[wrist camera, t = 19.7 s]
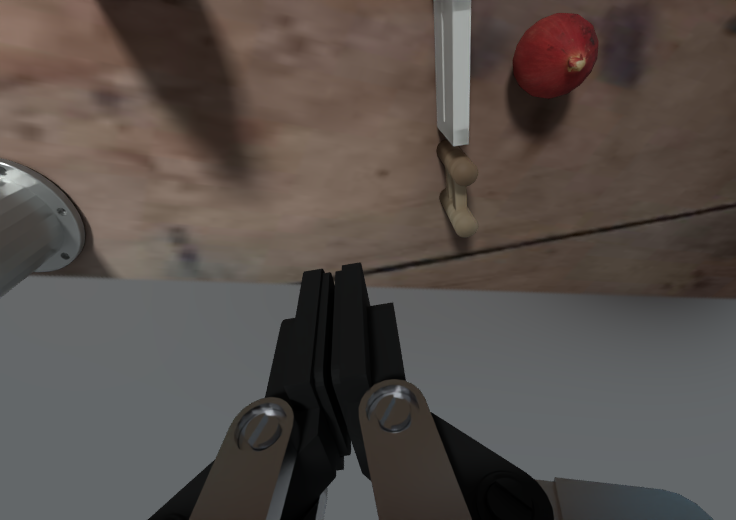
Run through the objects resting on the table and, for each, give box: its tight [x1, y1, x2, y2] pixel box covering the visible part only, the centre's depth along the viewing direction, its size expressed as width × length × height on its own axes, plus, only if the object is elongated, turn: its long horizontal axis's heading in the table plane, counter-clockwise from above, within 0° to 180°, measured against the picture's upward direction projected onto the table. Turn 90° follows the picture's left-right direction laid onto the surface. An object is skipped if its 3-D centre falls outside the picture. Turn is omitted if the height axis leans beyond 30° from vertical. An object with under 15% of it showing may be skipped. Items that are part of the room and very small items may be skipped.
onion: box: [513, 13, 598, 99], centre depth 28 cm, size 6×6×8 cm
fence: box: [436, 139, 478, 238], centre depth 30 cm, size 2×24×7 cm, turn 9°
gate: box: [433, 0, 471, 146], centre depth 29 cm, size 10×1×6 cm, turn 8°
